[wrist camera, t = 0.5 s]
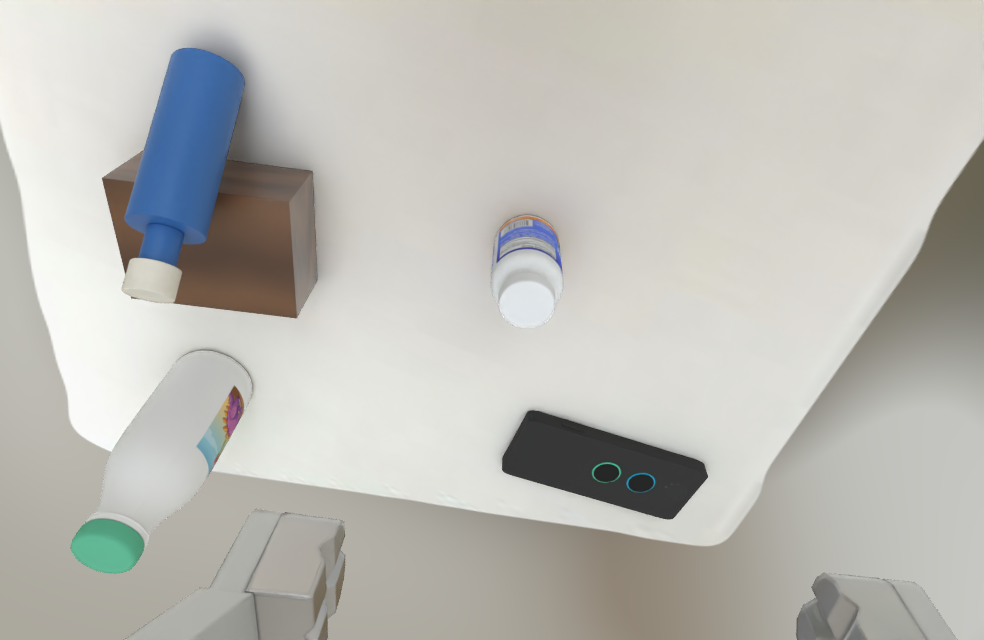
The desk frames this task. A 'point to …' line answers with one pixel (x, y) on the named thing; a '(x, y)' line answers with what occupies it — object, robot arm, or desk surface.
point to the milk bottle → (163, 457)
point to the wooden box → (239, 240)
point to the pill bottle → (526, 271)
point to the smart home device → (602, 466)
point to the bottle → (181, 168)
